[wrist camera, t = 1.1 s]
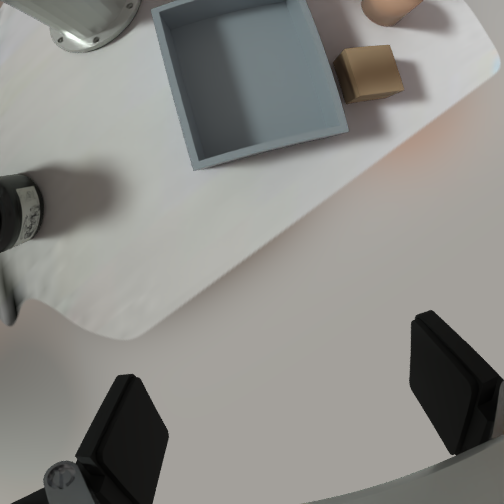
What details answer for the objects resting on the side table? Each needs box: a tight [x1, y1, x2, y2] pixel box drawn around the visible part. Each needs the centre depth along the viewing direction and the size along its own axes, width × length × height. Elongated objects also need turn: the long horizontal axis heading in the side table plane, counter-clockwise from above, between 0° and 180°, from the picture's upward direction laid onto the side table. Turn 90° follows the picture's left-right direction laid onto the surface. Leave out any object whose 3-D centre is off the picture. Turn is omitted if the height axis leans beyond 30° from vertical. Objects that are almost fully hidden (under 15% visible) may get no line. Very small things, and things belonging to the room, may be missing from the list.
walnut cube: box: [333, 45, 404, 104], centre depth 28 cm, size 5×5×5 cm
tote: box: [151, 0, 349, 171], centre depth 28 cm, size 17×14×6 cm
